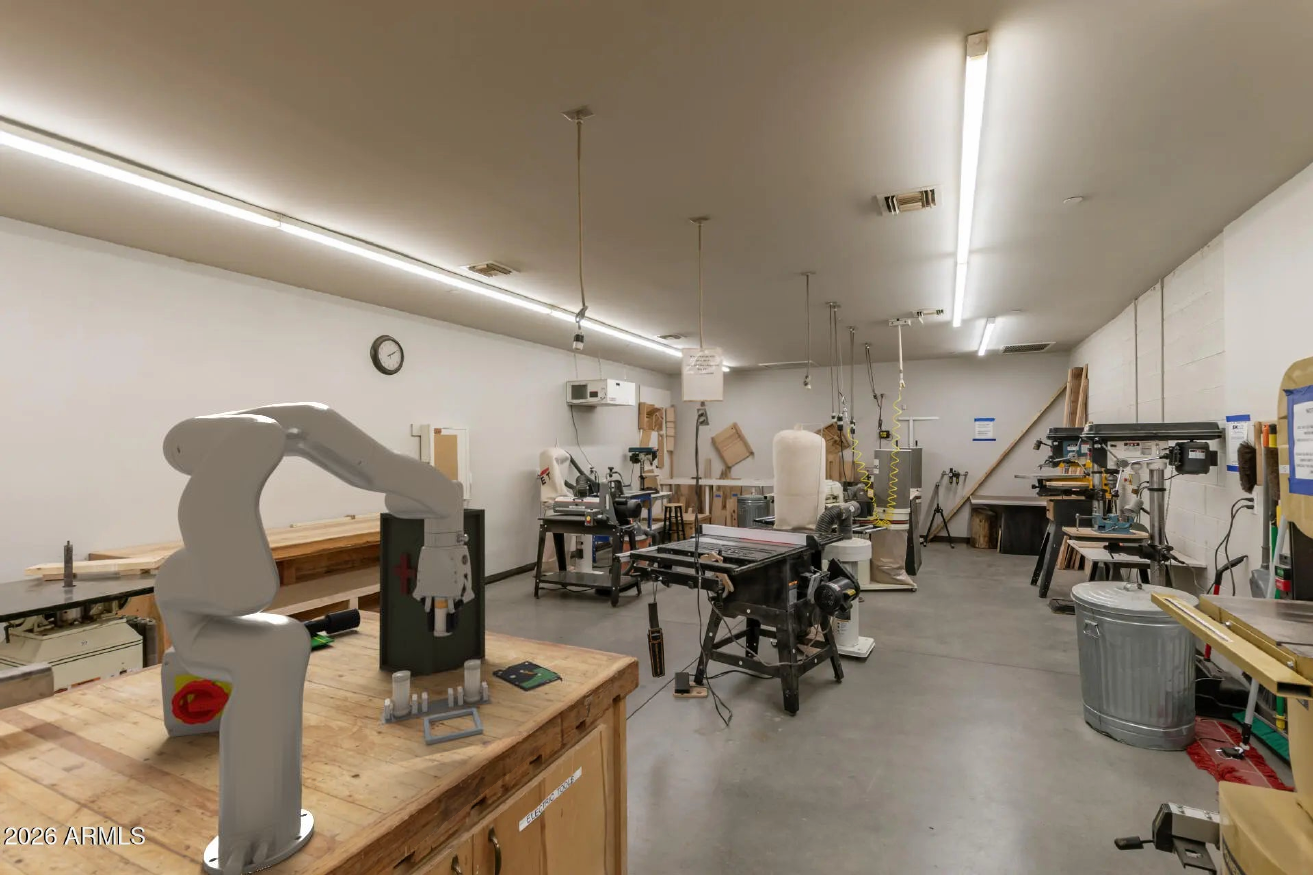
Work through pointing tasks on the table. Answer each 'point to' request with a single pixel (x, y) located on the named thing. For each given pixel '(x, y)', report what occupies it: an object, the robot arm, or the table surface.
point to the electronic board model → (331, 625)
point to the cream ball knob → (472, 681)
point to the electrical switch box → (190, 699)
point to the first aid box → (406, 616)
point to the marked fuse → (441, 616)
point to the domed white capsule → (401, 693)
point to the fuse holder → (435, 705)
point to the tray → (452, 735)
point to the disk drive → (527, 675)
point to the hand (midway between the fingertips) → (442, 629)
